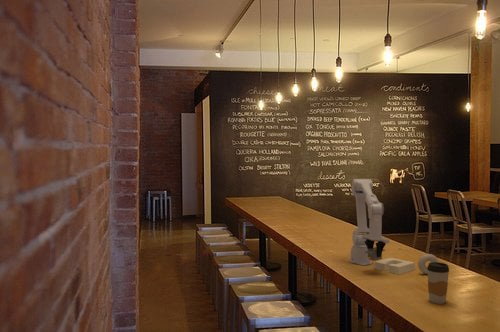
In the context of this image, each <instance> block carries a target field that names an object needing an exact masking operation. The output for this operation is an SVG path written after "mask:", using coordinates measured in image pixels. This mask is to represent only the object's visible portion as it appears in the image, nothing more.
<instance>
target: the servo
mask: <svg viewBox="0 0 500 332" xmlns="http://www.w3.org/2000/svg"><path fill="white" fill-rule="evenodd" d="M385 251H386V249H385V248H383V250H382V252H385ZM365 253H368V260H370V261H372V262H373V261H374V262H376V261H380V260H383V253H382V254H381V257H377V248H376V246H375V247H373V248H370V249H368V251H365Z"/></svg>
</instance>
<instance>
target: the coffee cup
mask: <svg viewBox="0 0 500 332" xmlns="http://www.w3.org/2000/svg"><path fill="white" fill-rule="evenodd" d="M427 267H428V268H427V270H428V274H427V287H428V288H427V289H428V290H427V291H428V300H429V302H431V303H433V304H437V305H438V304H439V305H443V304H445V303H446V302H447V293H448V286H449V285H448V284H449V275H450V274H449V273H450V267H449V264H447V263H443V262H440V261H439V262H431V261H430V262H429V263H428V264H427Z"/></svg>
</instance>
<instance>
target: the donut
mask: <svg viewBox="0 0 500 332" xmlns="http://www.w3.org/2000/svg"><path fill="white" fill-rule="evenodd" d="M417 262H418V263H417V267H418V269H419V271H420V272H421V273H423V274H425V275H428V270H427V268H428V266H426V263H427V262H430V263H431V262H439V263H440V261H439V259H438V258H437V256H436V255H434V254H432V253H425V254H423V255H422V256H421V257H419V259H418V261H417Z"/></svg>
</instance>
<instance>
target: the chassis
mask: <svg viewBox="0 0 500 332" xmlns="http://www.w3.org/2000/svg"><path fill="white" fill-rule="evenodd" d="M374 270H377V271H381V272H386V271H388V273H389V274H394V273H395V275H402V274H406V273H409V272H412V271H415V270H416V262H415V261H414V262H413V261H408V260H404V259H399V258H395V257H389V258H388V257H387V258H384V259H383V258H382V259H380V260H376V261H374ZM408 271H409V272H408ZM405 272H406V273H405Z"/></svg>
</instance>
